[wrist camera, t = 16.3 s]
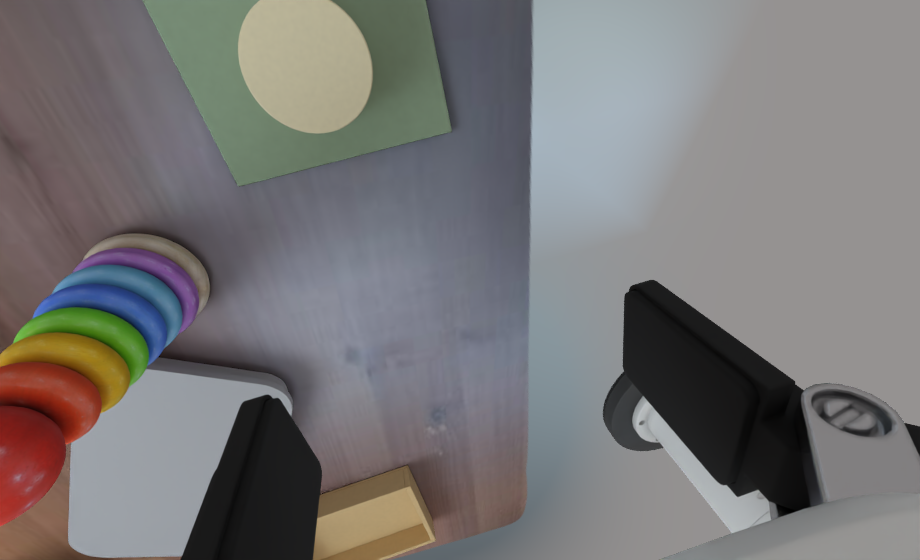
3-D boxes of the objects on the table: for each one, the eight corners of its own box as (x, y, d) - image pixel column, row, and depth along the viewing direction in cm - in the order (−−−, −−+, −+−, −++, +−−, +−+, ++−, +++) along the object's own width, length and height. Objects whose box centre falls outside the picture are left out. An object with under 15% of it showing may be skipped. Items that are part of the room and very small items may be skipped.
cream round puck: (349, -11, 24) (348, -25, 20) (383, 110, 27) (388, 117, 24) (234, 14, 23) (210, 4, 19) (285, 134, 27) (273, 146, 23)
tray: (407, 464, 47) (410, 486, 45) (432, 520, 54) (436, 541, 52) (266, 512, 46) (261, 537, 43) (310, 563, 53) (308, 587, 50)
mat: (409, -74, 23) (410, -77, 23) (450, 130, 30) (452, 131, 29) (136, -19, 22) (131, -21, 21) (240, 184, 28) (238, 187, 28)
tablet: (302, 372, 37) (299, 389, 35) (250, 534, 47) (246, 555, 45) (91, 340, 31) (73, 359, 29) (81, 534, 41) (67, 558, 39)
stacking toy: (68, 234, 27) (-340, 477, 11) (194, 224, 29) (-7, 426, 13) (117, 325, 31) (-135, 603, 15) (226, 313, 33) (101, 552, 17)
